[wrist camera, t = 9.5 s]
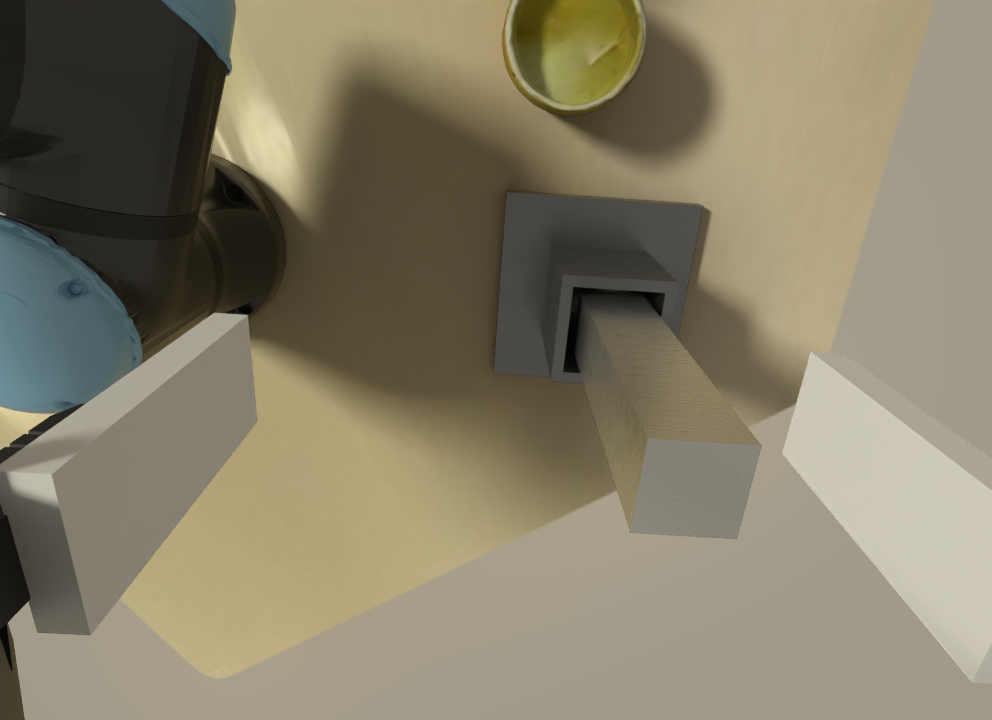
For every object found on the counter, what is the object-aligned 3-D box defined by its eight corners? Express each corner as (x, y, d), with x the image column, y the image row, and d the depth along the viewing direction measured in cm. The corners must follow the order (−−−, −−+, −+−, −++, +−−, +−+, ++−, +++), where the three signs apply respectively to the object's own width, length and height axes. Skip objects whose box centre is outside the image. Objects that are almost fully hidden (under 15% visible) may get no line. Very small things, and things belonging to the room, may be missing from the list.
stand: (493, 368, 56) (492, 426, 46) (506, 190, 50) (508, 210, 40) (665, 379, 57) (702, 439, 46) (698, 203, 51) (750, 227, 40)
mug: (669, 103, 46) (653, 83, 37) (542, 142, 50) (500, 133, 41) (638, -73, 44) (612, -140, 35) (507, -17, 48) (455, -64, 39)
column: (571, 355, 47) (628, 544, 26) (579, 289, 45) (648, 438, 24) (631, 358, 47) (733, 550, 26) (641, 293, 45) (761, 445, 24)
